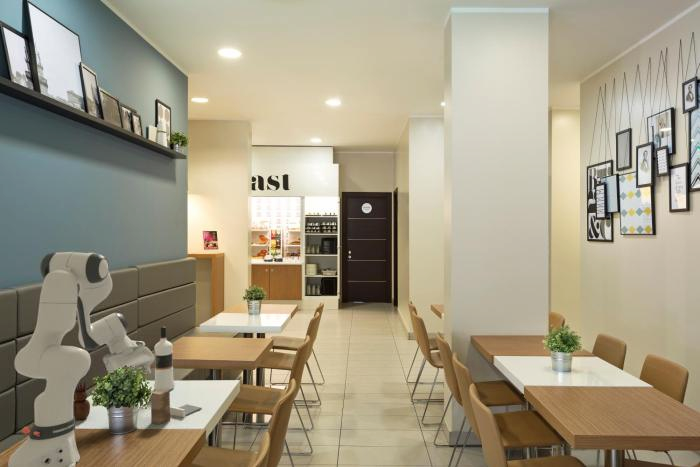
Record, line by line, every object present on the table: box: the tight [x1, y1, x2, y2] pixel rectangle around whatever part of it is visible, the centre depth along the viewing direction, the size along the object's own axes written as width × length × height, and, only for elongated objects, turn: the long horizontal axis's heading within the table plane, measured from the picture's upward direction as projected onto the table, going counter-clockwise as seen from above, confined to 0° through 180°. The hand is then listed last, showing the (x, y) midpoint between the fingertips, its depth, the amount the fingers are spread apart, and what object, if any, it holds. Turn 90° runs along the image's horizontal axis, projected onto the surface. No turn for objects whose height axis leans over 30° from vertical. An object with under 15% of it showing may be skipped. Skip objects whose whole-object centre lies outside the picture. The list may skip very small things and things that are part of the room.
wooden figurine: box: [73, 381, 91, 421], centre depth 206 cm, size 7×6×15 cm
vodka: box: [153, 326, 176, 391], centre depth 243 cm, size 9×9×30 cm
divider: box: [170, 405, 186, 419], centre depth 209 cm, size 1×12×3 cm, turn 61°
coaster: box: [178, 403, 202, 417], centre depth 213 cm, size 9×9×1 cm
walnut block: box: [150, 389, 171, 426], centre depth 202 cm, size 5×5×12 cm
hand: (139, 376), depth 208 cm, fingers open, 8 cm apart
